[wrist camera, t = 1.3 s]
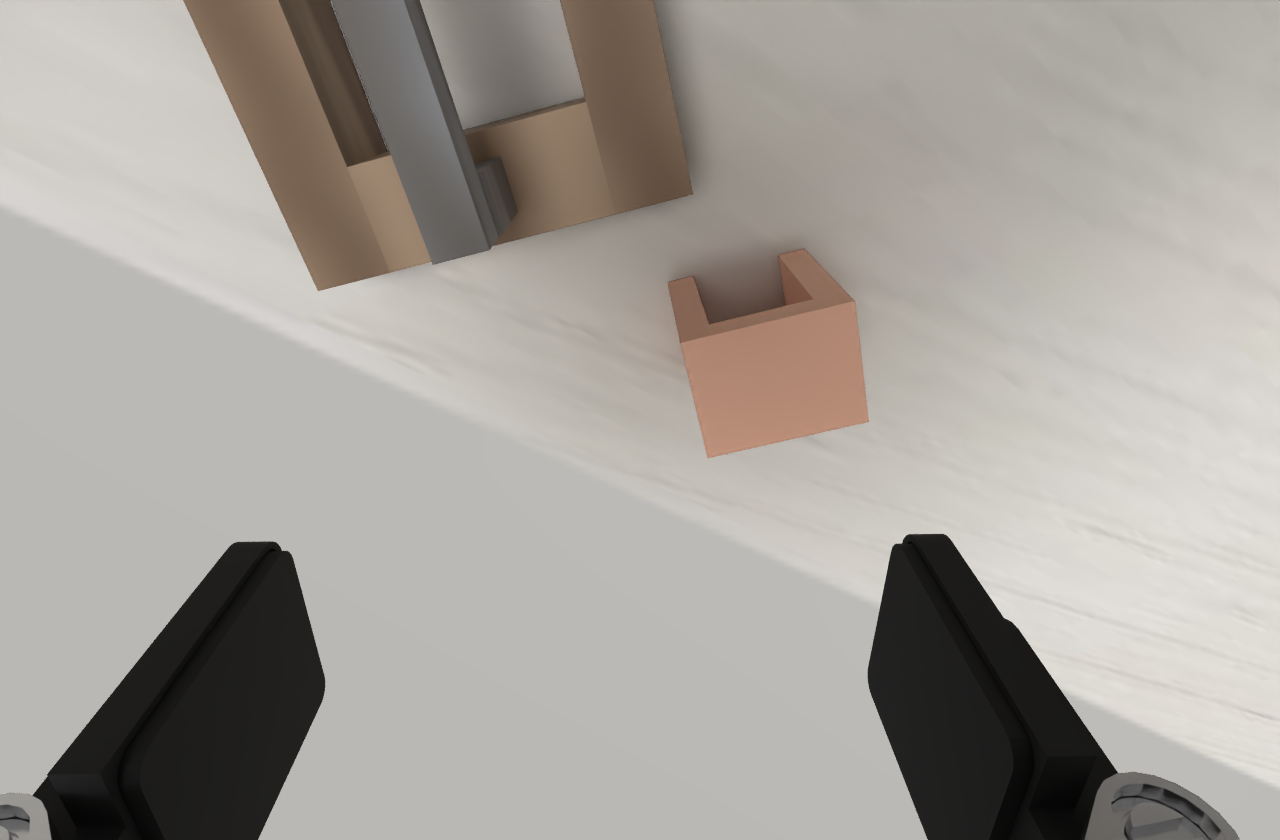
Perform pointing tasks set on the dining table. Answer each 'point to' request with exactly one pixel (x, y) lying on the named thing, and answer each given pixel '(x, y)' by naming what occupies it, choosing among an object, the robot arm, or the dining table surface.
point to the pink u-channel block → (774, 362)
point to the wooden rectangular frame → (436, 131)
